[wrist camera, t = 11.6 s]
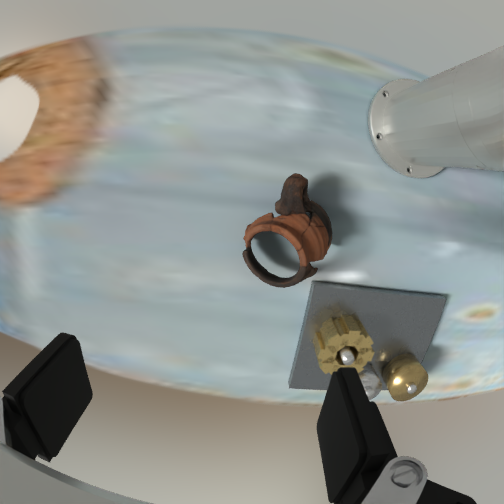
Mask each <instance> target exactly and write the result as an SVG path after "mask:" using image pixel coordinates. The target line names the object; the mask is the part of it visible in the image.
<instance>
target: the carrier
mask: <svg viewBox="0 0 504 504" xmlns="http://www.w3.org/2000/svg"><path fill="white" fill-rule="evenodd" d="M445 302H446V298H444V297H443V296H442V295H436V294H426V293H416V292H406V291H397V290H387V289H378V288H369V287H360V286H351V285H343V284H334V283H326V282H317V281H312V284H311V289H310V293H309V298H308V303H307V307H306V312H305V316H304V320H303V325H302V329H301V333H300V337H299V342H298V346H297V350H296V354H295V358H294V362H293V366H292V370H291V374H290V377H289V381H288V383H289V388H295V389H313V390H328V386H329V383H330V379H331V376H332V375H331V374H330V373H329V372H328V373H327V374H325V373H324V372H323V371H322V370H321V368H320V367H319V363H318V359H317V356H316V352H315V346H314V343H313V340H314V336H315V332H320V329H321V328H322V327H323V326H322V323H324V322H325V321H327V320H328V319H330V318H332V320H334V319H336V318H341V315H350V316H352V317H353V319H355V321H356V322H358V321H359V320H360V321H361V323H362V324H363V326H364V327H365V329H366V331H367V332H368V334H369V336H370V337H371V339H372V341H373V342H374V343H373V344H372V345H371V347H372V348H373V350H374V355H373V358H372V360H371V361H367V364H366V365H365V366H363V368H364V370H362V371H361V372H359V373H358V374H359V377H360V379H361V382H362V384H363V386H364V389H365V391H366V394H367V396H368V399H369V400H371V399H373V398H374V397H376V396H377V395H378V394H379V392H380V391H381V390H389V392H390V394H391V396H392V398H393V399H394V400H396V401H407V400H410V399H412V398H414V397H415V396H417V395H418V394H419V393H420V392H421V391H422V390H423V389H424V388H425V386H426V384H427V382H428V374H427V372H426V371H425V369H424V368H423V366H422V365H421V363H422V361H423V358H424V356H425V354H426V351H427V349H428V347H429V344H430V342H431V339H432V337H433V334H434V332H435V329H436V327H437V324H438V321H439V319H440V316H441V313H442V310H443V307H444V305H445ZM339 353H340V356H341V358H342V361H343V363H344V364H345V365H351V364H352V363H353V362H354V357H353V354H352V352H351V350H350V348H349V346H345V347H343V348H342V349H340V350H339Z"/></svg>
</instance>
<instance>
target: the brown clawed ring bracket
mask: <svg viewBox="0 0 504 504" xmlns="http://www.w3.org/2000/svg"><path fill="white" fill-rule="evenodd" d="M307 188H308V180H307V179H306V178H304V177H303V176H302V175H300V174H296V173H295V174H293V175H291V176H290V177H288V178H287V179H286V181H285V183H284V186H283V189H282V193H281V199H280V200H279V201H277V202H276V203H275V210H276V212H277V213H278V214H281V216H278V217H275V218H274V216H273V213H268V214H266V215H264V216H262V217H259V218H258V219H257V220H255V221H254V222H253V223H252V224H249V225H248V226H247V229H246V231H245V236H244V240H245V243H246V250H244V251H243V253H242V254H243V257H244V260H245V262H246V264H247V266H248V268H249V269H250V270H251V271H252V273H253V274H255V275H256V276H257V277H259V279H261V280H262V281H263V282H265V283H267V284H269V285H272V286H275V287H283V288H285V287H290V286H293V285H295V284H298V283H299V282H301V281H303V280H305V279H306V278H308V277H311V276H313V275H314V274H315V273H316V272H317V270H318V268H313V267H312V266H311V264H310V262H314V261H319V260H322V259H324V256H325V255H326V254H327V250H328V249H329V247H330V245H331V240H332V229H331V222H330V219H329V217H328V215H327V213H326V212H325V210H324V209H323V208H322V207H321V206H320V205H318V204H317V203H315V202H314V201H312V200H311V201H310V199H309V197H308V194H307ZM306 212H309V213H310V218H309V216H308V215H307V214H306ZM263 231H273V232H276V233H278V234H280V235H282V236H283V237H285V238H286V239H287V240H289V241H290V242H291V243H292V245H293V246H294V247H295V249H296V250H297V253H298V255H299V259H300V268H299V270H298V272H297V273H296V274H295V275H294V276H292V277H290V278H281V277H278V276H276V275H274V274H272V273H269V272H268V271H267V270H266V269H265V268H264V267H263V266H262V265H261V264H260V263H259V262H258V261H257V260H256V258H255V256H254V255H253V252H252V249H251V240H252V239H253V237H254V236H255V235H256V234H257V233H260V232H263Z"/></svg>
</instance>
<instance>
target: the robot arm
mask: <svg viewBox="0 0 504 504" xmlns="http://www.w3.org/2000/svg"><path fill="white" fill-rule="evenodd" d="M383 94H384V95H385V97H384V96H383ZM368 126H369V133H370V136H371V140H372V142H373V144H374V147H375V149H376V151H377V152H378V154H379V155H380V157H381V158H382V159H383V160H384V162H385V163H386V164H387V165H388V166H389V167H391V168H392V169H393V170H395V171H396V172H398V173H400V174H402V175H405V176H408V177H412V178H427V177H430V176H433V175H435V174H437V173H439V172H440V171H441V170H442V169H443V168H444V167H456V168H469V169H481V170H491V171H503V172H504V46H502V47H499V48H497V49H495V50H493V51H491V52H488V53H486V54H484V55H481V56H479V57H477V58H474V59H472V60H469V61H467V62H465V63H462V64H460V65H458V66H455V67H453V68H450V69H448V70H446V71H444V72H441V73H439V74H437V75H435V76H432V77H430V78H428V79H426V80H424V81H421V82H419V81H416V80H411V79H398V80H395V81H392V82H390V83H388V84H386V85H385V86H383V87H382V88H381V89H380V90H379V91H378V92H377V93H376V94H375V96H374V98H373V100H372V102H371V104H370V108H369V113H368ZM376 135H378V137H379V138H378V139H377V138H376ZM407 168H408V172H407ZM2 392H3V394H4V397H3V398H1V397H0V504H153V503H148V502H144V501H141V500H137V499H133V498H129V497H126V496H123V495H119V494H116V493H113V492H110V491H107V490H104V489H101V488H98V487H96V486H93V485H90V484H87V483H85V482H82V481H79V480H77V479H75V478H72V477H70V476H67V475H65V474H63V473H60V472H58V471H56V470H54V469H51V468H49V467H47V466H45V465H43V464H41V463H39V462H37V461H35V458H36V456H37V455H38V457H40V458H41V459H43V460H46V461H48V462H50V461H51V459H52V458H53V457H56V456H57V455H58V453H59V451H60V450H61V448H62V446H63V444H64V443H65V441H66V440H67V438H68V436H69V435H70V433H71V431H72V429H73V428H74V427H75V425H76V423H77V422H78V420H79V418H80V417H81V415H82V414H83V412H84V411H85V409H86V408H87V406H88V404H89V403H90V401H91V399H92V395H93V394H92V389H91V385H90V382H89V378H88V375H87V371H86V367H85V363H84V359H83V355H82V351H81V346H80V343H79V341H78V340H77V339H76V337H75V336H74V335H70V334H66V333H60V334H59V335H58V336H57V337H55V338H54V339H53V340H52V341H51V342H50V343H49V344H48V345H47V346H46V347H45V348H44V349H43V350H42V351H41V352H40V353H39V354H38V355H37V356H36V357H35V358H34V359H33V360H32V361H31V362H30V363H29V364H28V365H27V366H26V367H25V368H24V369H23V370H22V371H21V372H20V373H19V374H18V375H17V376H16V377H15V379H14V380H13V381H12V382H11V383H10V384H9V385H8V386H7V387H6V388H5V389H4V390H3V391H2ZM317 434H318V440H319V445H320V451H321V457H322V463H323V468H324V475H325V481H326V487H327V493H328V499H329V502H330V503H334V504H476V502H475V501H474V500H473V499H472V498H471V497H469V496H467V495H464V494H462V493H459V492H456V491H454V490H451V489H449V488H446V487H444V486H441V485H439V484H437V483H434V482H432V481H430V480H427V476H428V475H427V469H426V468H425V466H424V465H423V464H422V463H421V462H420V461H419V460H417V459H415V458H412V457H409V456H401V457H398V456H397V454H396V451H395V449H394V446H393V444H392V441H391V438H390V436H389V434H388V431H387V429H386V426H385V424H384V421H383V419H382V416H381V414H380V412H379V409H378V407H377V405H376V403H375V402H370V401H369V399H368V396H367V394H366V391H365V389H364V386H363V384H362V382H361V379H360V377H359V374H358V372H357V370H356V368H355V367H340V368H338V370H337V371H334V372H333V373H332V376H331V379H330V383H329V386H328V390H327V393H326V396H325V400H324V403H323V406H322V409H321V412H320V415H319V419H318V422H317Z"/></svg>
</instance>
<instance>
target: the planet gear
mask: <svg viewBox="0 0 504 504" xmlns="http://www.w3.org/2000/svg"><path fill="white" fill-rule="evenodd" d="M322 326H323V327H322V328H321V329H320V332H315V336H314V340H313V343H314V346H315V352H316V356H317V359H318V363H319V367H320V368H321V370H322V371H323V372H324V373H325V374H327V373H328V372H329V373H330V374H331V375H332V373H333V372H334V371H337V370H338V368H340V367H355V368H356V370H357V372H358V373H359V372H361V371H362V370H364V368H363V366H365V365H366V364H367V361H371V360H372V358H373V355H374V350H373V348H372V347H371V345H372V344H373V343H374V342H373V341H372V339H371V337H370V336H369V334H368V332H367V331H366V329H365V327H364V326H363V324H362V323H361V321H360V320H359V321H358V322H356V321H355V319H353V317H352V316H350V315H341V318H336V319H334V320H332V318H330V319H328V320H327V321H325V322H324V323H322ZM345 346H349V348H350V350H351V352H352V354H353V357H354V362H353V363H352V364H351V365H345V364H344V363H343V361H342V358H341V356H340V353H339V350H340V349H342V348H343V347H345Z"/></svg>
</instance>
